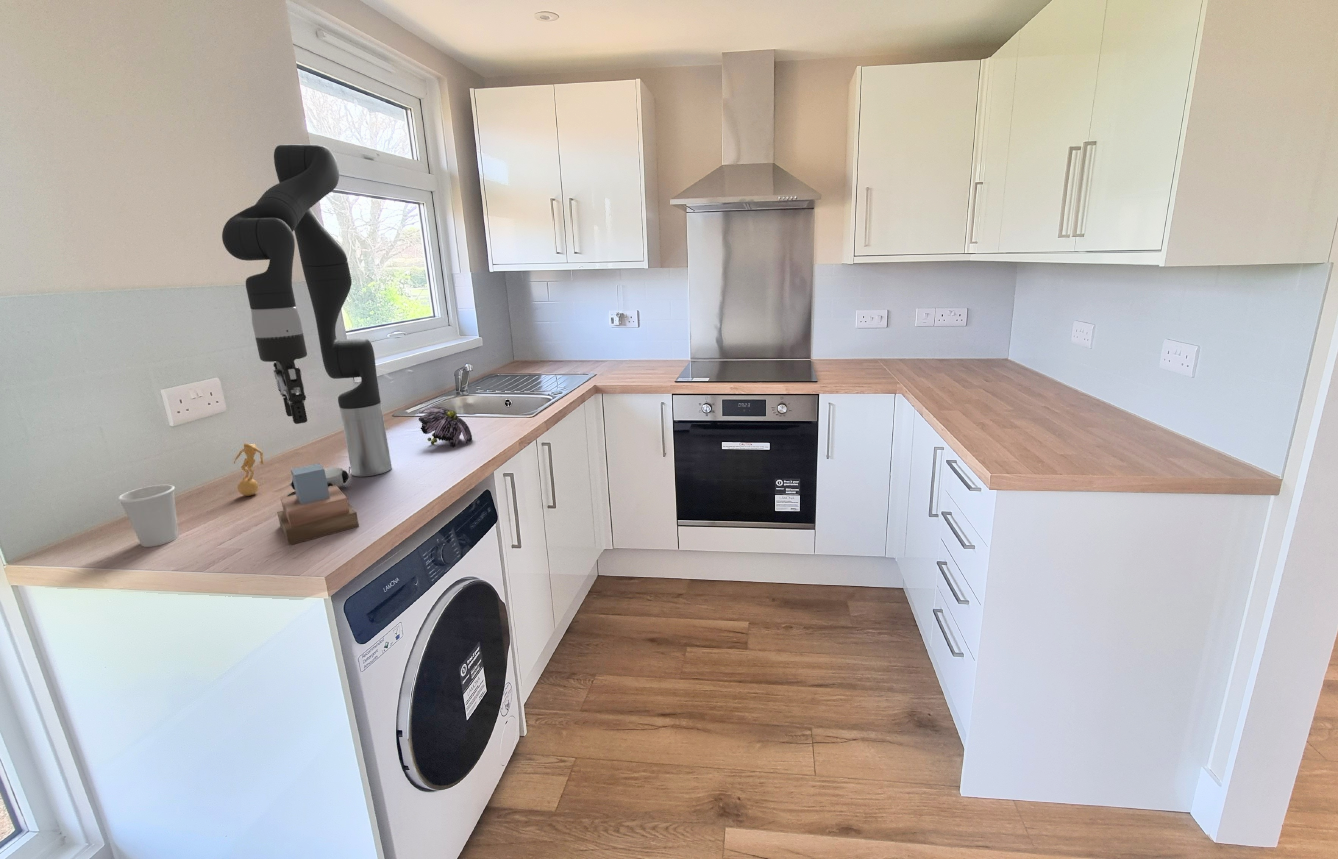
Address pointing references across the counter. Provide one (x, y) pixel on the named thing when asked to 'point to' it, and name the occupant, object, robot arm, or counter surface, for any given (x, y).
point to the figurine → (249, 484)
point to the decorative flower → (444, 426)
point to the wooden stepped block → (316, 517)
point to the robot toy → (331, 478)
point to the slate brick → (310, 483)
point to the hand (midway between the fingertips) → (297, 419)
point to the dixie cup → (152, 514)
